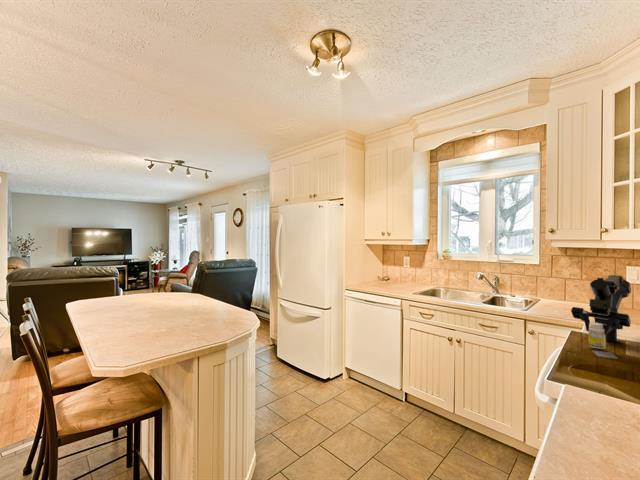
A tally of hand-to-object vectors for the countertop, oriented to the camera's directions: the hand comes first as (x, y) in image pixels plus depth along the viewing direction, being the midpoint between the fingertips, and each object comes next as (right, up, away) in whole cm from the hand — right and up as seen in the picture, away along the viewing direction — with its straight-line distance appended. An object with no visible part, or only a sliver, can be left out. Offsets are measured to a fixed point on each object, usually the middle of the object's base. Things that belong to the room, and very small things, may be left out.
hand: (596, 332), depth 129 cm
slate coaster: (-2, -8, -6) cm, 10 cm away
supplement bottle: (+1, -7, +1) cm, 7 cm away
